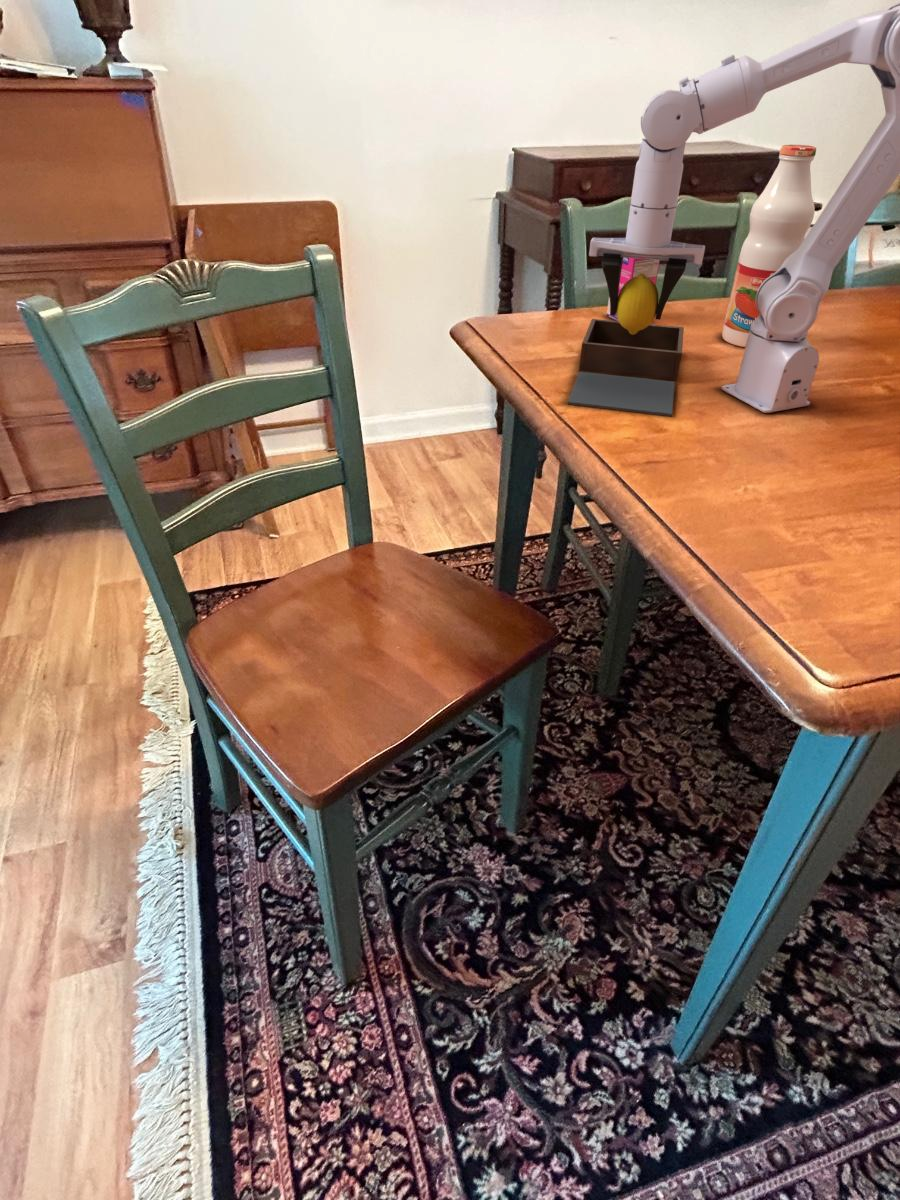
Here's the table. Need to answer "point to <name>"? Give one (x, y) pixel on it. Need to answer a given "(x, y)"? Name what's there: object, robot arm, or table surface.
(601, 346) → the dark brown shallow box
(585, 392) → the placemat
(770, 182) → the fruit juice
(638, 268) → the supplement box
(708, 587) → the table surface
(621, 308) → the lemon
